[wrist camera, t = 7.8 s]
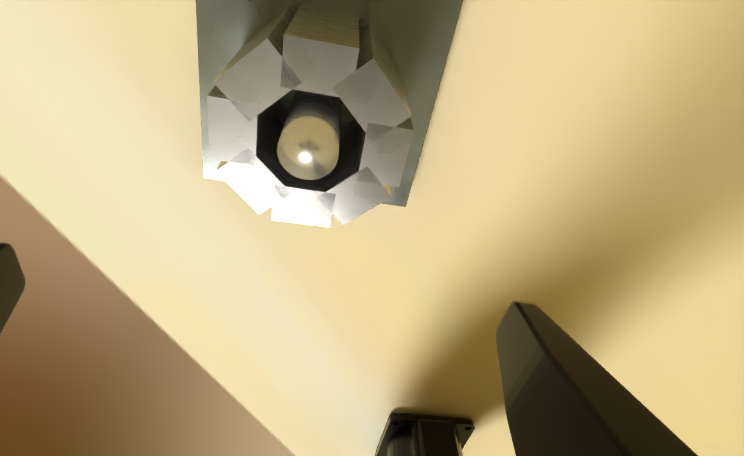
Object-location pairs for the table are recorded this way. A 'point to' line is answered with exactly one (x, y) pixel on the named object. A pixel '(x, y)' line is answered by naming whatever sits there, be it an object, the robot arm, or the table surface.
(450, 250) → the table surface
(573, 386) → the robot arm
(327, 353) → the table surface
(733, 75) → the table surface
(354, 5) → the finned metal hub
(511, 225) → the table surface
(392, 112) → the hub ring
